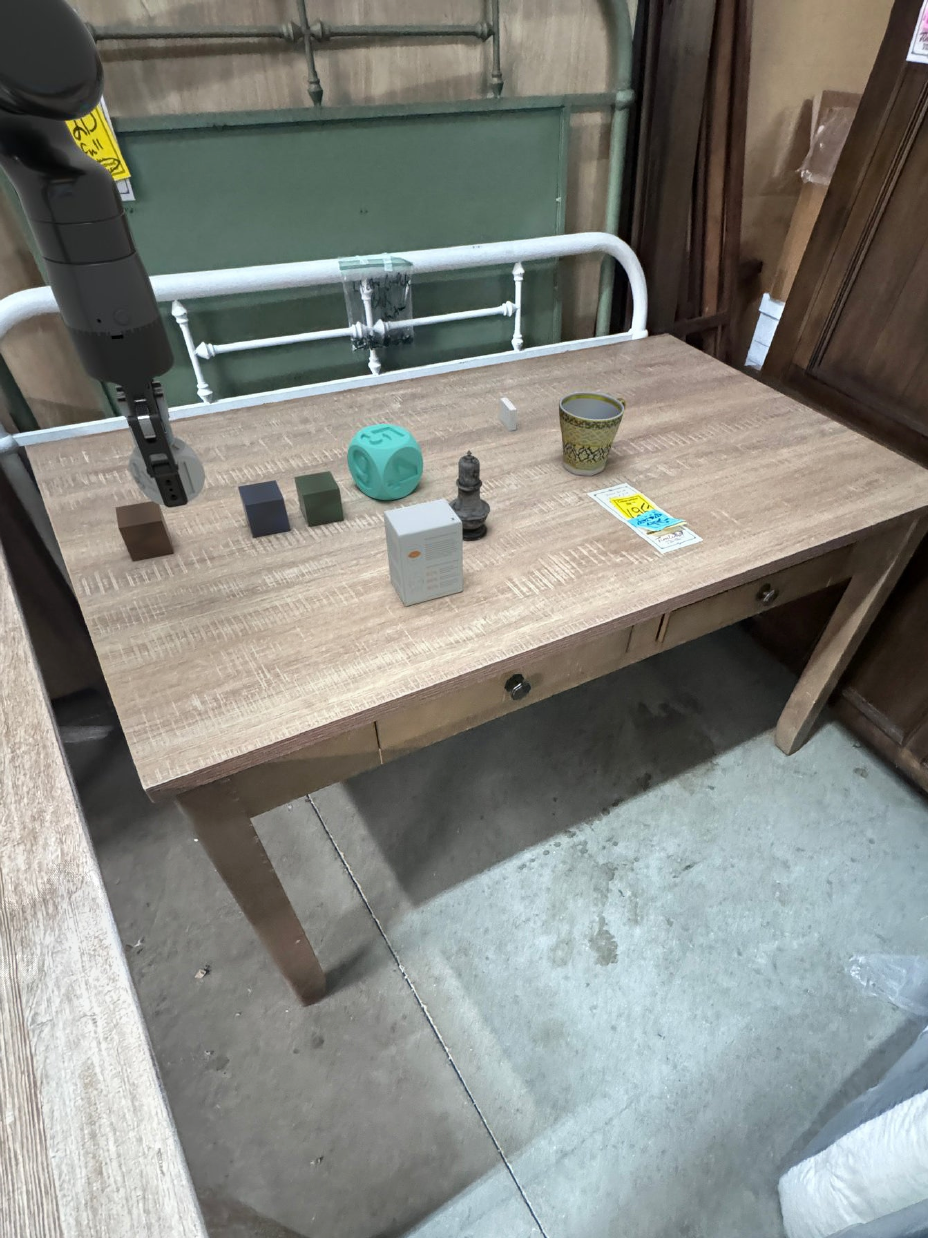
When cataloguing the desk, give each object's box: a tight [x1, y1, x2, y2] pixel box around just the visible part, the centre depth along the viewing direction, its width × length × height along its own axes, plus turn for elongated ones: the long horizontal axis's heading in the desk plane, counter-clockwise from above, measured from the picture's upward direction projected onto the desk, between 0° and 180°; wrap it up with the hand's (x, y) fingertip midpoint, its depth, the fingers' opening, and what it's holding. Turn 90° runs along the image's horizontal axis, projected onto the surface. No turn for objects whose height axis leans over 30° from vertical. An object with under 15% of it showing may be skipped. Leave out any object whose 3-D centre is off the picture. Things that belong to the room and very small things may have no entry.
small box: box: [382, 498, 464, 607], centre depth 84 cm, size 8×6×10 cm
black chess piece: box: [448, 449, 491, 542], centre depth 92 cm, size 6×6×12 cm
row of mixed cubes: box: [115, 470, 345, 562], centre depth 92 cm, size 28×5×5 cm, turn 115°
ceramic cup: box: [558, 391, 627, 477], centre depth 108 cm, size 13×10×10 cm
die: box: [128, 437, 206, 506], centre depth 69 cm, size 5×5×5 cm
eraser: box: [498, 397, 518, 432], centre depth 119 cm, size 1×5×4 cm, turn 23°
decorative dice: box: [346, 423, 424, 501], centre depth 101 cm, size 8×8×8 cm
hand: (173, 485), depth 71 cm, fingers closed on die, 7 cm apart
